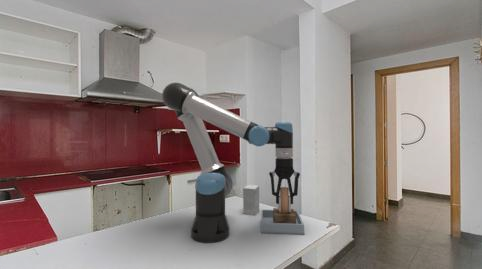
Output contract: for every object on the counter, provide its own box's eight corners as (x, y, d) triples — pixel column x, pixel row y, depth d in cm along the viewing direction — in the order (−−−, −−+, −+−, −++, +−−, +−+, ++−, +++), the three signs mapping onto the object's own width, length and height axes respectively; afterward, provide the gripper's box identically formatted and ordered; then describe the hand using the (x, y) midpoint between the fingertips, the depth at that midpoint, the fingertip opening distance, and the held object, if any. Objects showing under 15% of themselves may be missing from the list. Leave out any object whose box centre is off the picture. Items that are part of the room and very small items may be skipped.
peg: (280, 221, 102) (280, 188, 102) (280, 218, 106) (280, 187, 106) (289, 221, 102) (288, 189, 102) (288, 218, 106) (288, 187, 106)
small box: (247, 209, 126) (248, 184, 126) (259, 210, 124) (259, 185, 124) (242, 213, 119) (242, 187, 119) (255, 215, 117) (255, 188, 116)
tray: (260, 233, 96) (261, 223, 96) (261, 217, 113) (261, 209, 113) (303, 234, 95) (304, 224, 95) (297, 219, 112) (297, 210, 111)
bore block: (274, 227, 100) (274, 214, 100) (273, 219, 109) (273, 208, 109) (295, 228, 99) (296, 215, 99) (293, 220, 108) (293, 208, 108)
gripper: (265, 158, 101) (265, 213, 101) (305, 158, 100) (305, 214, 100) (264, 156, 108) (265, 208, 109) (302, 156, 107) (302, 208, 107)
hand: (284, 211), depth 104 cm, fingers closed on peg, 3 cm apart
